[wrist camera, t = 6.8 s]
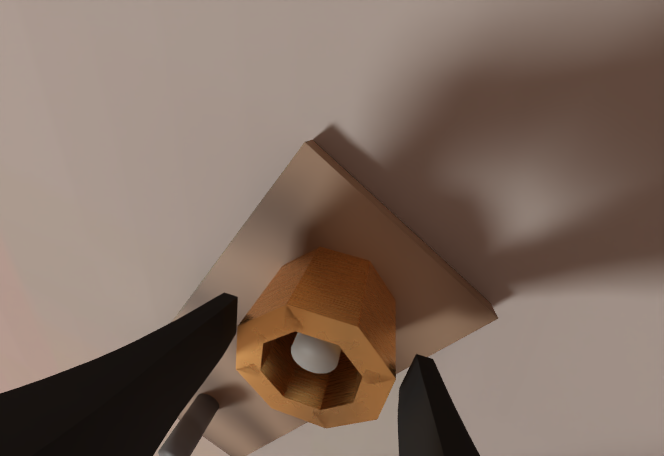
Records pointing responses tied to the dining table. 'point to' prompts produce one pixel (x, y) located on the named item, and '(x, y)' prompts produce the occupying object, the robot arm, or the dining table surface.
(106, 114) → the dining table surface
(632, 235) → the dining table surface
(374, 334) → the ring
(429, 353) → the rod board
